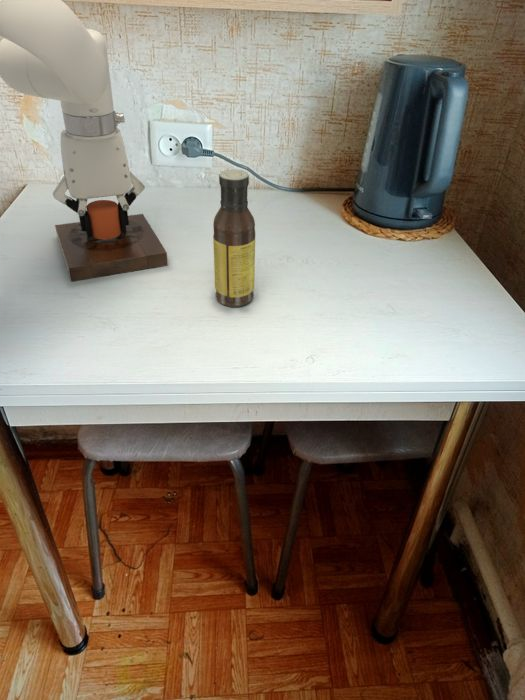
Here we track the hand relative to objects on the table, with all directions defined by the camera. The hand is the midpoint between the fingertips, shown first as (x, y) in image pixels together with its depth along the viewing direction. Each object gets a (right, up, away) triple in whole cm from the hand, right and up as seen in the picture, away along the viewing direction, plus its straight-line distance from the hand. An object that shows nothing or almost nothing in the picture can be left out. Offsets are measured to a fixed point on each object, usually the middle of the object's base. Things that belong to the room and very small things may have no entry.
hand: (105, 230), depth 90 cm
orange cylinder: (0, 0, 0) cm, 0 cm away
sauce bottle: (+23, -13, -8) cm, 28 cm away
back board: (+1, -4, +1) cm, 4 cm away
